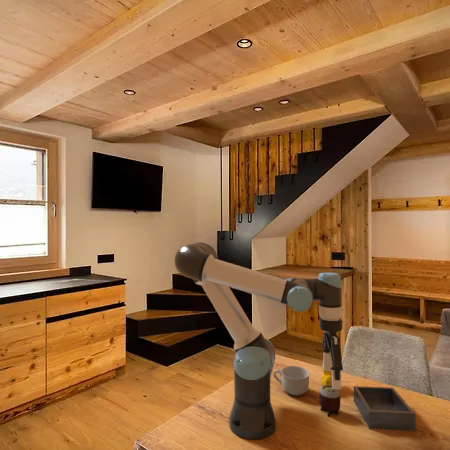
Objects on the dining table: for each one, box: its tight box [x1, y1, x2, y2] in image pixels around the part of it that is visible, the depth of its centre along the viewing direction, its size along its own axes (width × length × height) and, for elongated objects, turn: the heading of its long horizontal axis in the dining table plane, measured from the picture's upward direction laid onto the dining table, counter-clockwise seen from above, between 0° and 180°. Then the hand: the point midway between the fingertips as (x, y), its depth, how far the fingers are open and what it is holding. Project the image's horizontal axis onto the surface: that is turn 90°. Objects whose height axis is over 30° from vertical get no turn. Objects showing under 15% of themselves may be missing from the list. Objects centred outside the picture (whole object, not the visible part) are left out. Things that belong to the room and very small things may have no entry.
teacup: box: [272, 365, 310, 397], centre depth 132 cm, size 14×11×8 cm
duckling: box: [320, 361, 333, 387], centre depth 134 cm, size 11×5×10 cm, turn 167°
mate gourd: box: [318, 374, 343, 417], centre depth 116 cm, size 8×8×15 cm
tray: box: [353, 385, 416, 432], centre depth 115 cm, size 14×17×6 cm
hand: (331, 379), depth 116 cm, fingers open, 13 cm apart
